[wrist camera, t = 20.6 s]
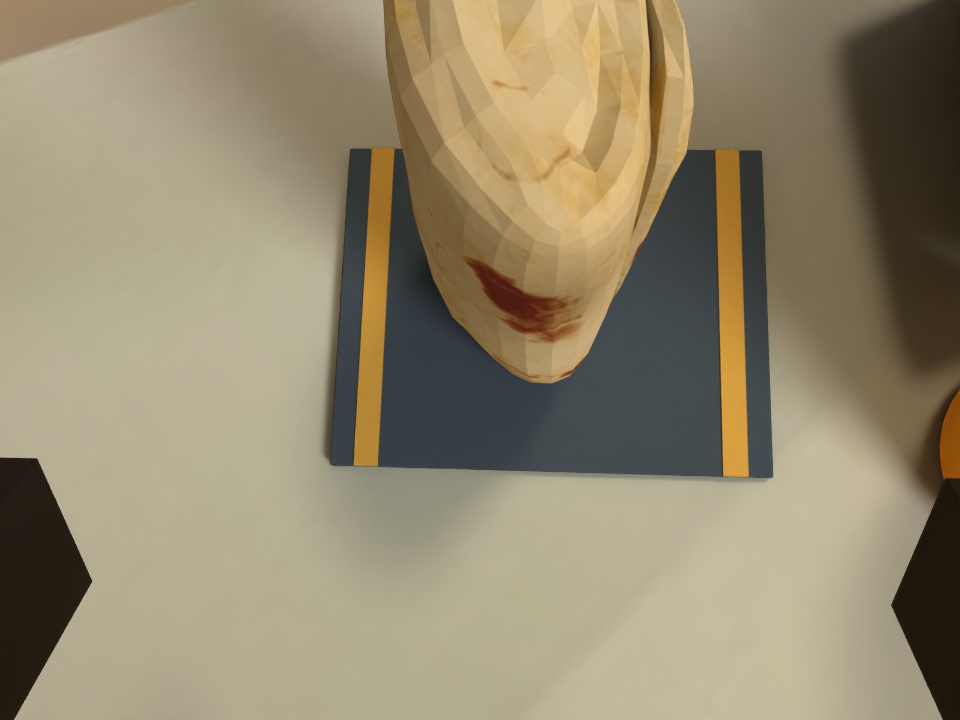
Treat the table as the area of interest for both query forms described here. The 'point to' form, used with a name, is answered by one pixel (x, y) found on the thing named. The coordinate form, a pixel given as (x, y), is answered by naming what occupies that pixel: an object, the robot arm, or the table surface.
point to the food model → (537, 158)
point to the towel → (601, 375)
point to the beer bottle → (951, 440)
